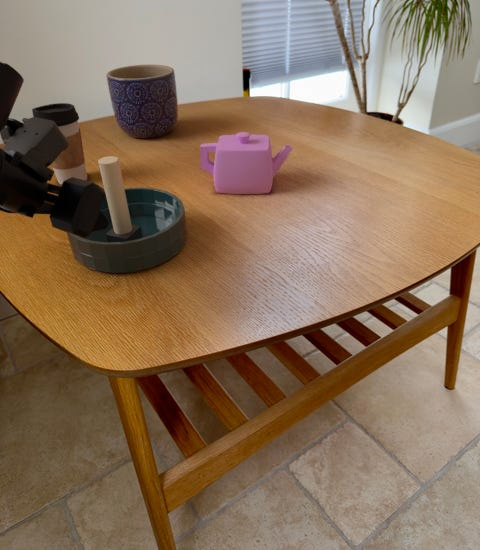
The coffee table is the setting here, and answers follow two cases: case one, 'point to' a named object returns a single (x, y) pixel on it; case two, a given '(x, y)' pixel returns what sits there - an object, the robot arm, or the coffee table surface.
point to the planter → (144, 99)
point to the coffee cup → (67, 122)
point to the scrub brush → (117, 202)
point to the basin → (142, 252)
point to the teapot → (242, 163)
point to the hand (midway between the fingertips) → (82, 217)
